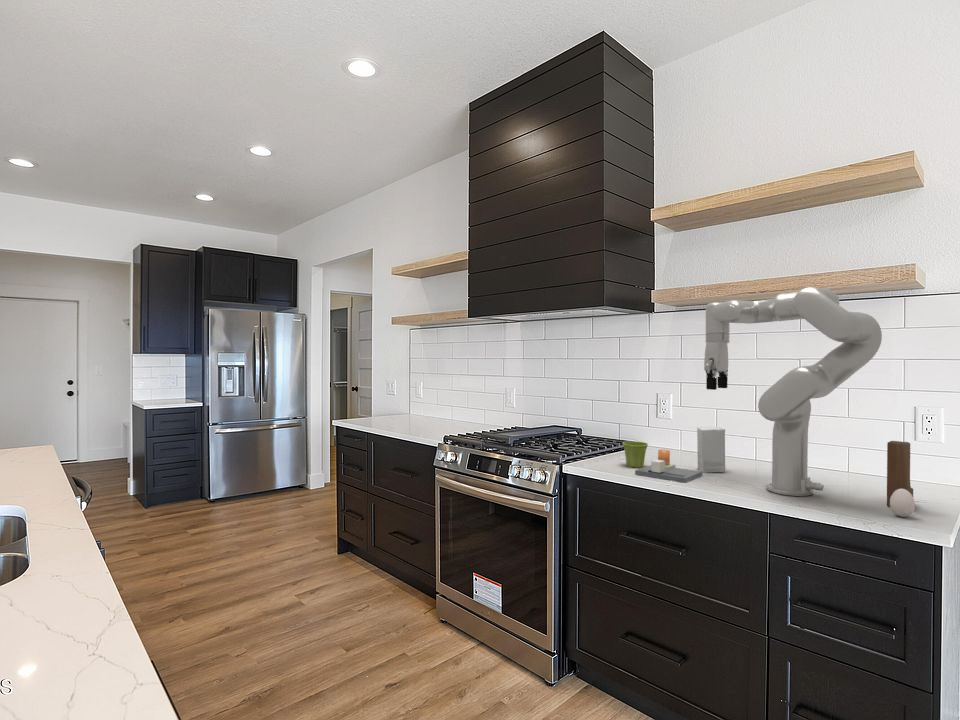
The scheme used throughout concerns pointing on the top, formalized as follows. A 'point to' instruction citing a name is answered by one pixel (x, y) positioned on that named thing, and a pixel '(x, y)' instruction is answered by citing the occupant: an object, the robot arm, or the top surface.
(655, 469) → the block
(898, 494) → the egg
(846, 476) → the top surface
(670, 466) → the pad
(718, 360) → the robot arm
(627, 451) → the plant pot
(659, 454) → the cap
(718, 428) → the skincare box
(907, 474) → the wooden block
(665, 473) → the breaker board
